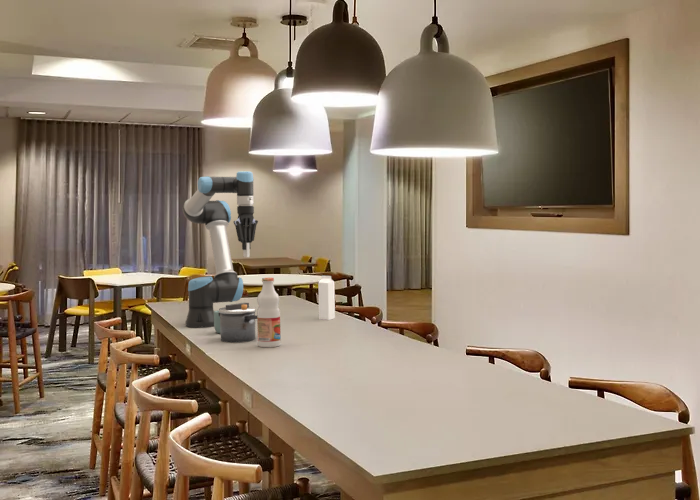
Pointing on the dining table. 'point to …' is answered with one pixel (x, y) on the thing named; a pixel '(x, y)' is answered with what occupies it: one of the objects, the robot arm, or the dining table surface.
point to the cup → (217, 321)
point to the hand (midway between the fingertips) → (246, 256)
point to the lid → (237, 309)
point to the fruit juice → (268, 315)
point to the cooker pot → (237, 327)
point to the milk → (326, 298)
